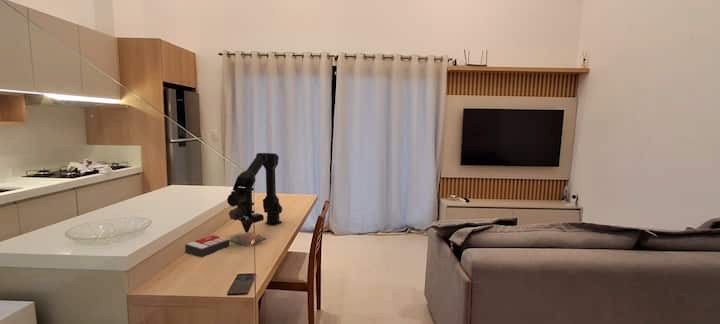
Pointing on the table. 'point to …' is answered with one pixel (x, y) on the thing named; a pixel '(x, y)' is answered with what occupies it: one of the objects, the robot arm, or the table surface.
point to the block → (249, 237)
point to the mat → (237, 240)
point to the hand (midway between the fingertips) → (246, 232)
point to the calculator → (206, 246)
